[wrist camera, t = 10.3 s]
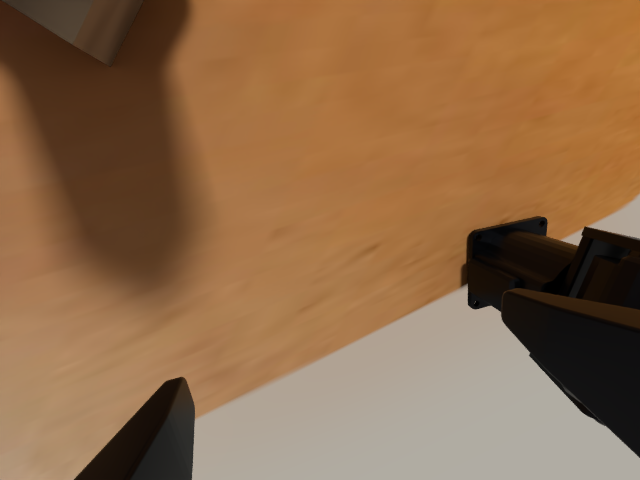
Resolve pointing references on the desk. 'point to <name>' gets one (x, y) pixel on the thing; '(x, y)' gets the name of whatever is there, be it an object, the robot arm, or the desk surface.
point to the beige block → (84, 22)
